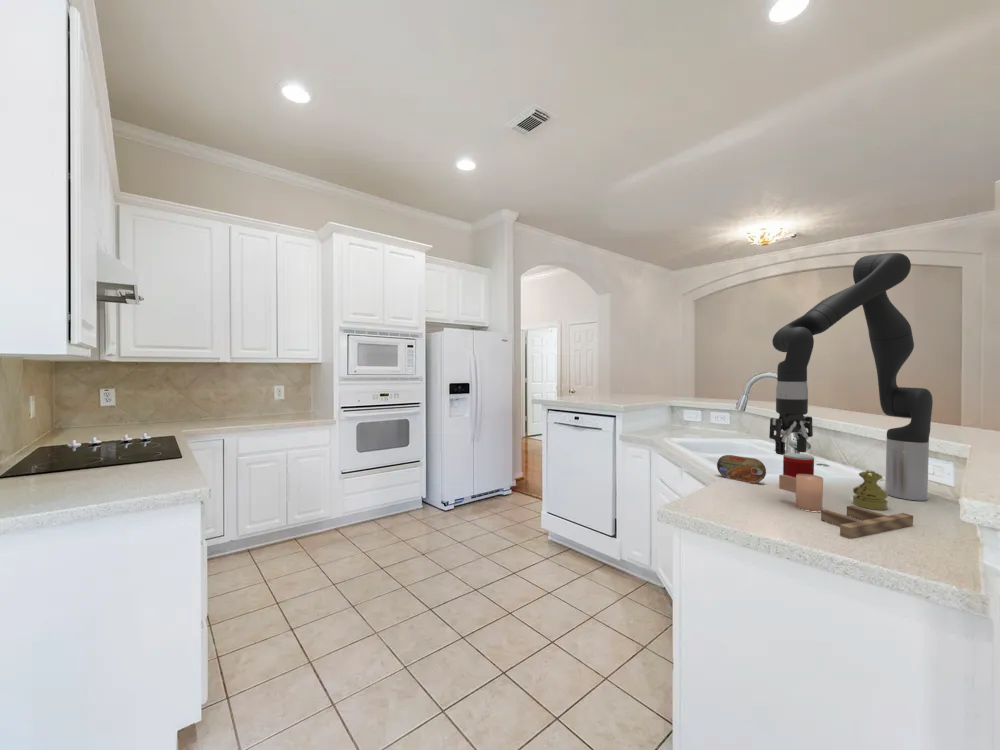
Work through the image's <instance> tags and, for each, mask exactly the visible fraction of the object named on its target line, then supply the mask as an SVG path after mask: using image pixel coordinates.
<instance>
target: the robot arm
mask: <svg viewBox="0 0 1000 750" xmlns="http://www.w3.org/2000/svg"><path fill="white" fill-rule="evenodd" d="M911 269H912V263H911V260H910V259H909V257H908V256H907V255H906V254H904V253H901V252H888V253H877V254H869V255H864V256H862V257H860V258H859V259H857V261H856V262H855V263H854V265H853V269H852V279H853V281H854V284H852V285H851V286H849V287H846V288H844V289H842V290H841V291H838V292H836V293H834V294H832V295H830V296H828V297H826V298H825V299H822V300H821V301H819V303H817V304H816V305H814V306H813V307H812V308H811V309H809V310H808V311H807V312H806V313H804V314H803V315H802V316H800V317H798V318H796V319H794V320H792V321H790V322H789V323H788V324H785V325H784V326H782V327H781V328H780V329H778V330H777V331H776V332H775V333H774V334H773V337H772V345H773V348H774V349H775V350H777V351H778V352H781V353H785V359H784V360H782V361H780V362H778V364H777V371H776V372H777V381H776V387H775V390H776V391H775V412H776V413H778V416H779V417H778V418H776V417H771V418H770V419H769V439H771V440H774V441H775V446H774V447H775V453H776V454H777V455H781V456H784V454H785V453H786V439H787V438H788V437H789V436H790V435H791V434H792V433H793V434H795V435H796V438H797V439H796V452H798V453H807V441H808V440H809V438H812V437H813V435H814V434H813V433H814V432H813V431H814V430H813V417H812V416H809V415H807V414H808V413H809V403H808V402H809V388H808V365H809V362H810V360H811V355H812V353H813V349H814V343H815V340H814V336H815V335H816V336H817V335H820V334H822V333H824V332H826V331H827V330H829V329H830V328H831V327H833V326H834V325H835V324H837V322H839V321H840V320H842V318H844V317H845V316H847V315H848V314H849V313H852V311H854V310H855V309H857V308H860V307H861V306H862V308H863V314H864V317H865V321H866V325H867V330H868V331H867V332H868V337H869V343H870V347H871V350H872V355H873V359H874V364H875V369H876V374H877V386H878V393H879V394H878V397H879V404H880V408H881V410H882V412H883V414H884V415H886V416H889V417H895V418H905V419H910V422H909V423H908V424H906V425H904V426H899V427H894V428H889V429H887V431H886V449H885V452H886V453H885V454H886V455H885V480H884V481H885V485H884V488H885V490H884V491H885V492H887V494H888V496H891V497H894V498H898V499H903V500H909V501H924V502H925V501H927V500H928V491H929V489H928V488H929V455H930V453H929V451H930V449H929V448H930V433H931V424H932V423H931V421H932V412H933V403H934V402H933V401H934V400H933V395H932V392H931V391H930V390H929V389H928V388H924V387H908V386H907V387H904V386H903V387H902V386H900V387H899V386H898V385H897V376H898V373H899V371H900V369H902V367H903V365H904V364H905V362H906V361H907V360H908V359H909V357H911V354H912V353H913V351H914V348H915V342H914V341H915V340H914V335H913V330H912V327H911V324H910V323H909V321H908V320H907V318H906V317H905V315H903V313H901V312H900V310H899V309H897V307H896V306H895V305H894V304H893V303H892V302H891V300H890V298H889V297H888V294H887V291H888V290H890V289H892V288H894V287H896V286H897V285H899V284H901V283H902V282H903V281H905V279H906V278H907V277H908V276H909V274H910V272H911Z"/></svg>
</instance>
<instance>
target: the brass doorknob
mask: <svg viewBox="0 0 1000 750" xmlns="http://www.w3.org/2000/svg"><path fill="white" fill-rule="evenodd" d="M858 476H859V477H861V478H862V480H863V482H862V483H861V484H858V485H857V486H854V487H853V488H852V492H853V493H854V494H853V495H852V503H853V505H854V506H856V507H859V508H863V507H864V508H863V509H867V508H868V509H867V510H873V509H874V511H876V510H877V511H885V510H887V509H888V500H887V498H888V496H889V495H888V494H887V492H885V490H884V489H882V487H880V486H879V484H878V481H880V480H881V479H883V475H882V474H879V473H876V471H874V470H865V471H861V472H858Z"/></svg>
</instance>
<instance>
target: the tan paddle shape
mask: <svg viewBox="0 0 1000 750" xmlns="http://www.w3.org/2000/svg"><path fill="white" fill-rule="evenodd" d="M778 478H779V480H778V481H779V482H778V484H779V485H778V489H780V490H783V491H787V492H790V493H794V494H795V508H796V507H798V508H800V509H803V510H809V511H822V510H824V509H823V507H824V506H823V505H824V504H823V503H824V502H823V501H824V498H823V497H824V477H823V476H820V475H815V474H814V475H811V474H796V478H795V477H791V476H787V475H783V474H779V477H778ZM798 508H797V509H798ZM800 509H799V510H800ZM803 510H802V511H803Z"/></svg>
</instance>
